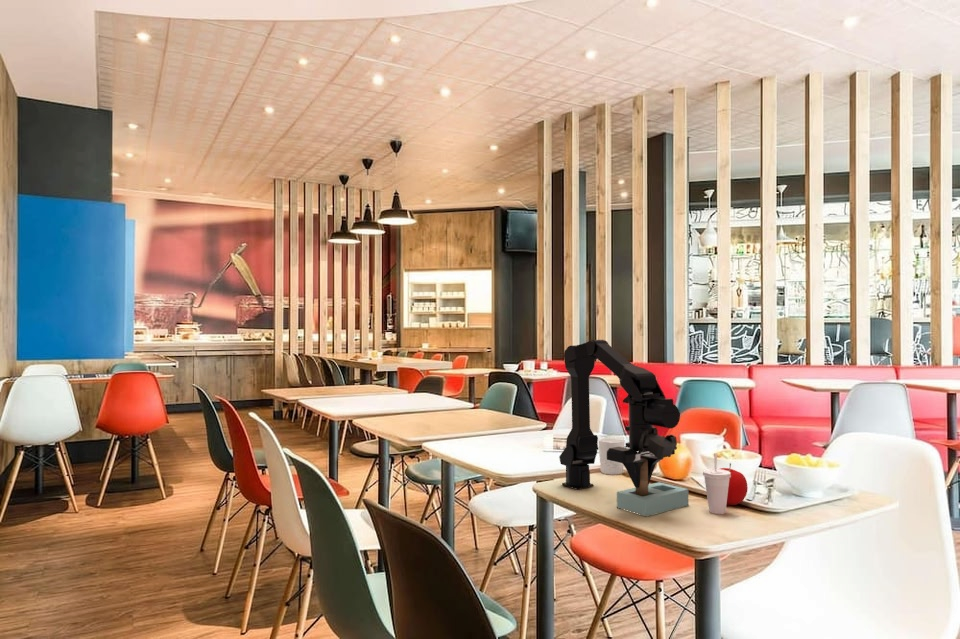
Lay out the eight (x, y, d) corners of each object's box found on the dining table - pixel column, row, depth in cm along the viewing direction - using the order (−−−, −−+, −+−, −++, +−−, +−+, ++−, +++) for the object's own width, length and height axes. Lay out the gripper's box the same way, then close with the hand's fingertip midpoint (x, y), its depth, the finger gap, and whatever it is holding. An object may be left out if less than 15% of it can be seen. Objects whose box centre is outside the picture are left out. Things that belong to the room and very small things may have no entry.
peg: (633, 498, 154) (632, 459, 154) (641, 496, 155) (640, 458, 155) (642, 501, 151) (642, 461, 151) (650, 499, 153) (650, 460, 153)
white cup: (599, 474, 189) (598, 441, 189) (598, 469, 197) (598, 437, 197) (625, 475, 188) (625, 442, 188) (624, 469, 196) (623, 437, 196)
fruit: (755, 507, 154) (754, 466, 154) (719, 508, 153) (718, 467, 153) (737, 497, 163) (736, 459, 163) (703, 498, 162) (702, 460, 162)
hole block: (617, 507, 155) (616, 491, 155) (659, 497, 164) (659, 482, 164) (645, 516, 147) (645, 499, 147) (688, 505, 156) (688, 489, 156)
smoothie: (698, 512, 150) (697, 454, 151) (709, 506, 155) (708, 450, 155) (725, 517, 146) (724, 457, 146) (735, 511, 151) (734, 453, 151)
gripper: (640, 431, 141) (641, 500, 141) (692, 423, 152) (693, 487, 152) (604, 424, 151) (605, 489, 150) (656, 417, 161) (656, 478, 161)
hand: (641, 486), depth 153 cm, fingers closed on peg, 3 cm apart
